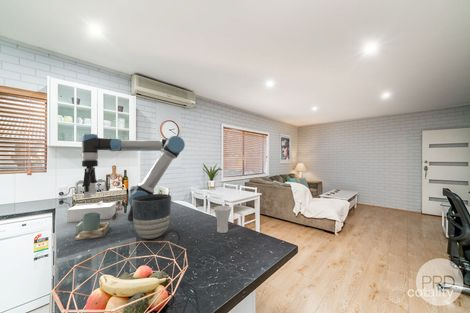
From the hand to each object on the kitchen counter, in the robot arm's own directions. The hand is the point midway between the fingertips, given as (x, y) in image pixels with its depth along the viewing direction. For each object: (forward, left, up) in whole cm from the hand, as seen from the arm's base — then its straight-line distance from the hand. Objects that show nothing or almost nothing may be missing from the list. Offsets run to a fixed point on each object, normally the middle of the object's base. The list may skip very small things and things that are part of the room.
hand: (90, 195), depth 115 cm
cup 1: (-2, +7, -20) cm, 21 cm away
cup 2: (-72, +32, -21) cm, 82 cm away
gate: (+5, -1, -20) cm, 21 cm away
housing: (-3, +7, -21) cm, 22 cm away
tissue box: (+6, -30, -21) cm, 37 cm away
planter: (-34, +25, -21) cm, 47 cm away
